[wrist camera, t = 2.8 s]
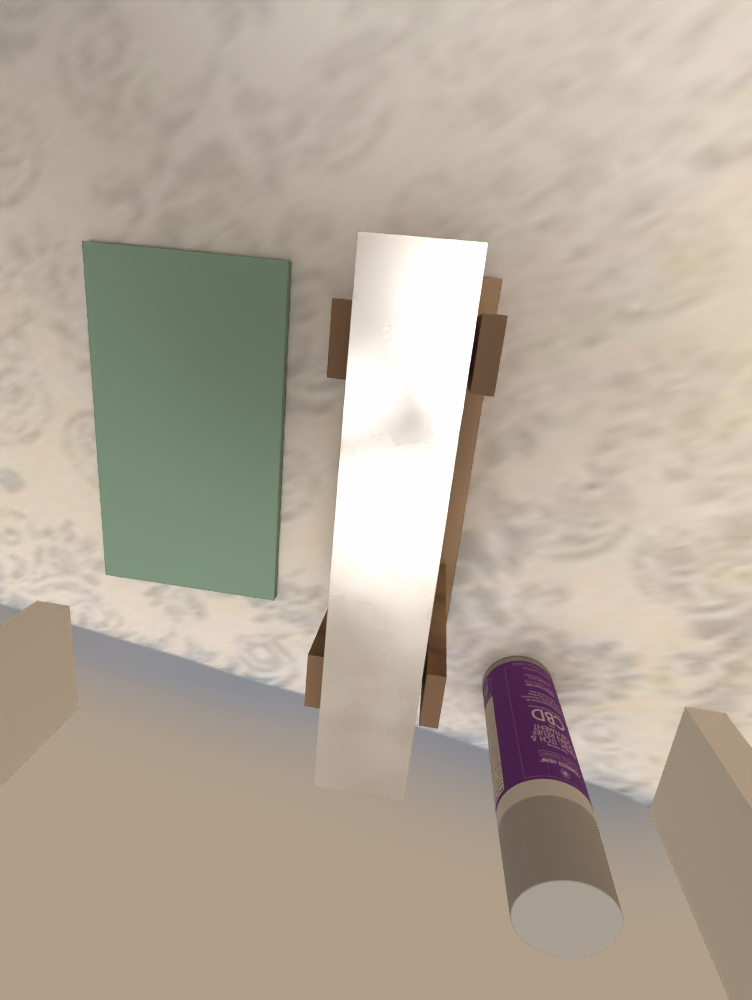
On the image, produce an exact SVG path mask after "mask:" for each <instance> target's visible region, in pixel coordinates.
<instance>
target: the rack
mask: <svg viewBox="0 0 752 1000" xmlns="http://www.w3.org/2000/svg"><path fill="white" fill-rule="evenodd" d="M501 284H502V279H498V278H487V277H483V279H482V286H481V292H480V299H479V305H478V312H477V319H476V325H475V332H474V339H473V345H472V352H471V358H470V365H469V372H468V378H467V385H466V391H465V398H464V405H463V411H462V418H461V424H460V431H459V438H458V444H457V451H456V457H455V464H454V471H453V477H452V484H451V491H450V497H449V504H448V510H447V517H446V524H445V530H444V537H443V543H442V550H441V557H440V563H439V570H438V576H437V583H436V590H435V596H434V603H433V609H432V616H431V623H430V629H429V636H428V643H427V649H426V656H425V662H424V669H423V676H422V688H421V704H420V719H419V725H420V726H425V727H431V728H437V729H438V725H439V719H440V713H441V707H442V701H443V695H444V689H445V683H446V677H447V675H446V623H447V616H448V610H449V604H450V598H451V592H452V586H453V580H454V573H455V567H456V561H457V555H458V549H459V543H460V536H461V530H462V524H463V518H464V512H465V506H466V499H467V493H468V487H469V481H470V475H471V469H472V463H473V456H474V450H475V444H476V438H477V432H478V426H479V419H480V413H481V407H482V401H483V395H486V396H494V393H495V387H496V381H497V375H498V369H499V363H500V357H501V351H502V346H503V340H504V334H505V328H506V322H507V316H505V315H497V309H498V302H499V296H500V290H501ZM351 312H352V300H346V299H336V298H332V311H331V325H330V340H329V355H328V369H327V377H328V378H337V379H345V380H346V375H347V362H348V350H349V337H350V325H351ZM327 614H328V609H327V611H326V614H325V616H324V618H323V621H322V623H321V626H320V628H319V630H318V633H317V635H316V637H315V640H314V642H313V644H312V647H311V649H310V651H309V654H308V663H307V677H306V692H305V706H309V707H315V708H320V702H321V689H322V676H323V664H324V651H325V639H326V626H327Z"/></svg>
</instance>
